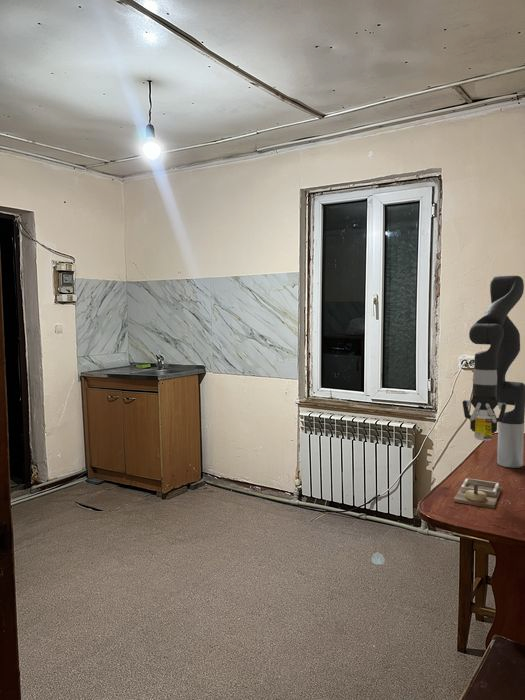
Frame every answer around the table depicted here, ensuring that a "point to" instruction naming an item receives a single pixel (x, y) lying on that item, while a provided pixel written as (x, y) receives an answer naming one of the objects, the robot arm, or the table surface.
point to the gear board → (484, 504)
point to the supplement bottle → (483, 425)
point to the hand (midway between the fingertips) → (483, 431)
